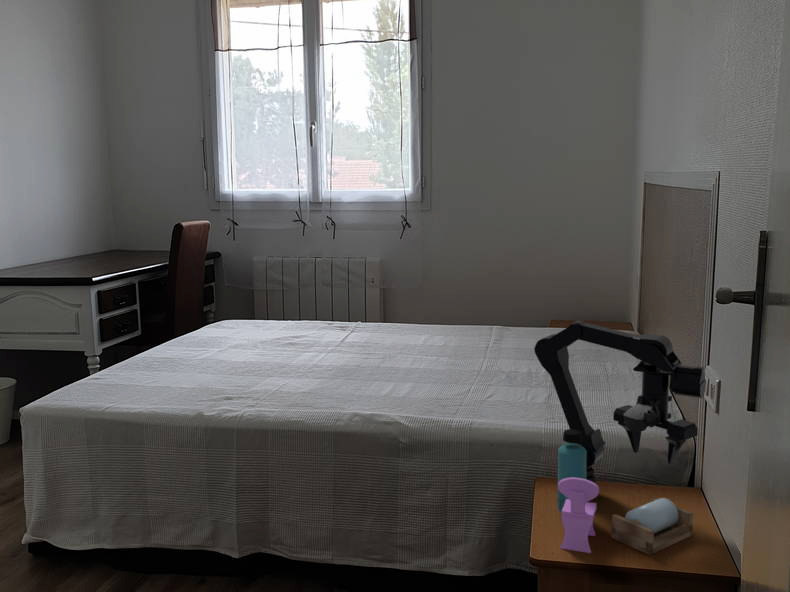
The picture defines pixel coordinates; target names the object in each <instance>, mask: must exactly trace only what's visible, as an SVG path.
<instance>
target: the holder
mask: <svg viewBox="0 0 790 592" xmlns="http://www.w3.org/2000/svg"><path fill="white" fill-rule="evenodd" d="M657 499H658V498H652V499H651V502H653V501H655V500H657ZM676 508H677V511H678V521H677V523H676V524H675V525H673V526H671V527H668V528H666V529H664V530H662V531H660V532H657V533H655V534H654V530H652V529H649V528H647V527H645V526H642V525H640V524H639V523H637V522H635V521H632V520H628V519H626V518H625V517H623V516H621V515H618V514H616V513H615V514H613V515H612V516H611V517H612V518H611V519H612V520H611V538H612V539H613V540H615V541H618V542H620V543H622V544H625V545H627V546H629V547H631V548H633V549H634V550H635V549H636V550H638V551H640V552H642V553H645V554H646V555H648V556H651V555H653V554H656V553H657V552H659V551H662V550H664V549H666V548H668V547H670V546H672V545H674V544H677V543H678V542H680V541H683V540H685V539H687V538H689V537H692V536H693V524H694V523H693V522H694V512H692V511H689V510H687V509H684V508H681V507H678V506H676Z"/></svg>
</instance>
